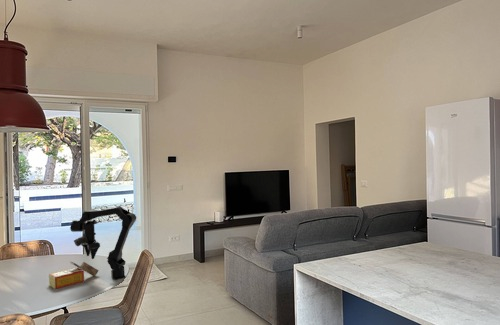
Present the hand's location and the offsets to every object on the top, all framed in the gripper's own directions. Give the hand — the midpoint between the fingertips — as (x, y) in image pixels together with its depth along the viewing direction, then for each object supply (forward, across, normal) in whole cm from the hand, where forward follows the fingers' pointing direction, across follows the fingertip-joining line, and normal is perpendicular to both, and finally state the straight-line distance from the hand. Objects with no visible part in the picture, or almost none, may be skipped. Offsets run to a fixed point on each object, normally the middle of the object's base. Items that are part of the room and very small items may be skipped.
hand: (90, 257), depth 222 cm
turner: (+7, -1, -4) cm, 8 cm away
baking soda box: (+9, +2, -22) cm, 23 cm away
